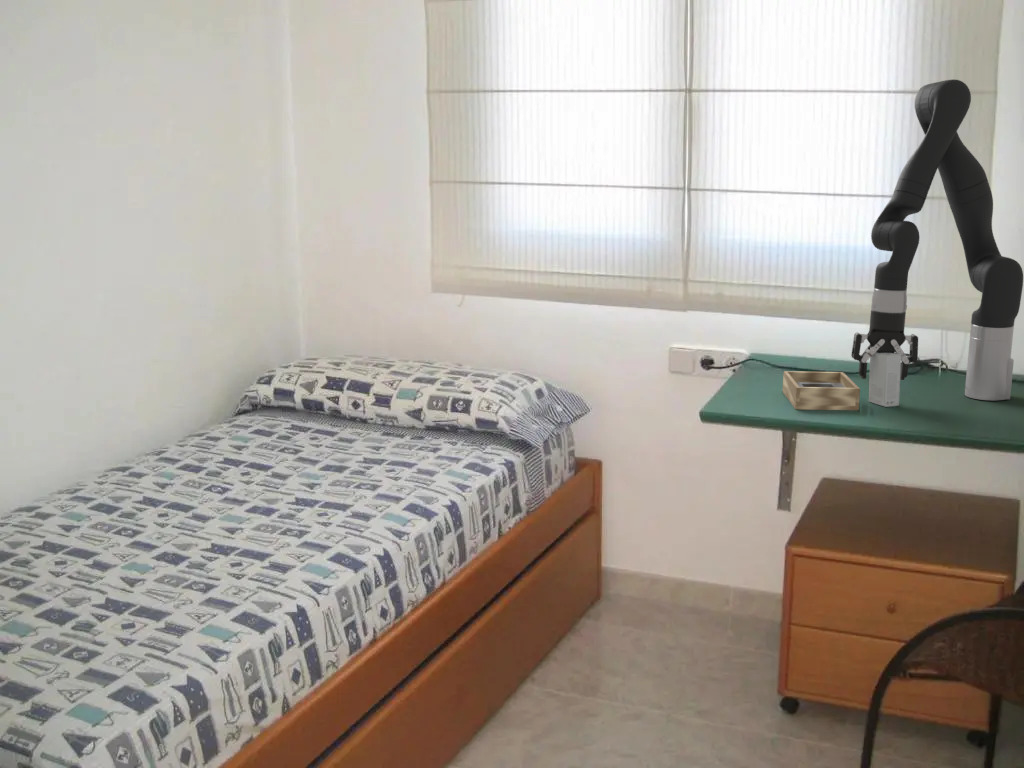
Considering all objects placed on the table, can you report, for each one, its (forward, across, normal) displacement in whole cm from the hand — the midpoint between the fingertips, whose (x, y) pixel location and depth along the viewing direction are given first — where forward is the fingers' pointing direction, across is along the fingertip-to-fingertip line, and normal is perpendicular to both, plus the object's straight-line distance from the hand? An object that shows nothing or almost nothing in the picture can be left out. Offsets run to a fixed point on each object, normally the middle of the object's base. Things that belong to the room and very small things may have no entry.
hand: (882, 378), depth 257 cm
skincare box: (+6, 0, 0) cm, 6 cm away
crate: (+6, +14, -2) cm, 15 cm away
